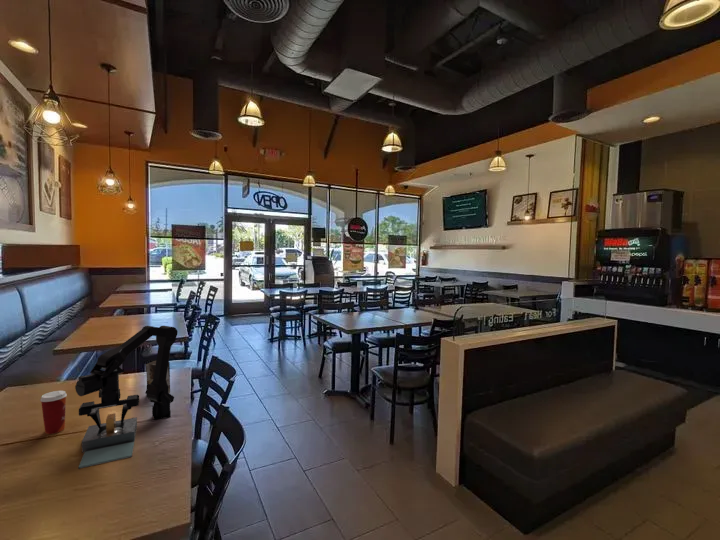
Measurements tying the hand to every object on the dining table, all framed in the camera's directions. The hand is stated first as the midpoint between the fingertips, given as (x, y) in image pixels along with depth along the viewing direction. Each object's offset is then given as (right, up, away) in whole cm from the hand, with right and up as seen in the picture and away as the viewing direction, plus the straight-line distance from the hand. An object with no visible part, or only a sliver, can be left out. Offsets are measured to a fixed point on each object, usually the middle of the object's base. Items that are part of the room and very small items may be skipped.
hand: (111, 426), depth 138 cm
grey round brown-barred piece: (0, -5, 0) cm, 5 cm away
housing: (0, -5, 0) cm, 5 cm away
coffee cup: (-27, -5, +6) cm, 28 cm away
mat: (+6, -6, -11) cm, 13 cm away
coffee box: (-6, -3, +43) cm, 44 cm away
